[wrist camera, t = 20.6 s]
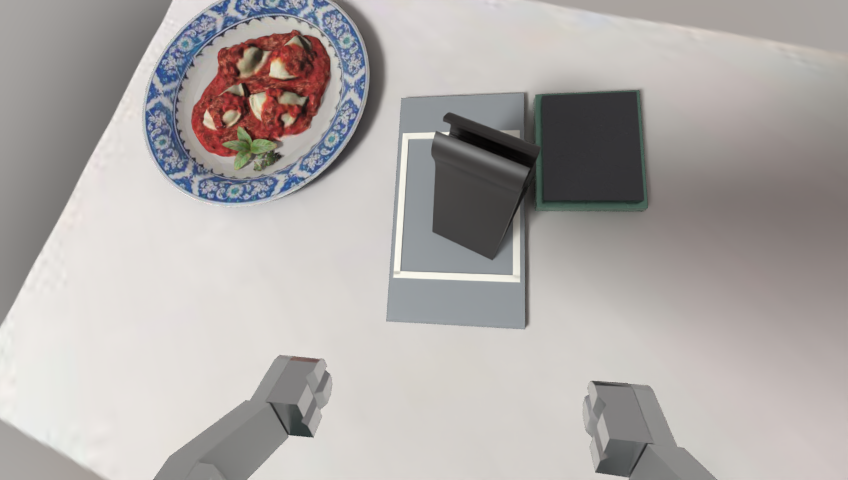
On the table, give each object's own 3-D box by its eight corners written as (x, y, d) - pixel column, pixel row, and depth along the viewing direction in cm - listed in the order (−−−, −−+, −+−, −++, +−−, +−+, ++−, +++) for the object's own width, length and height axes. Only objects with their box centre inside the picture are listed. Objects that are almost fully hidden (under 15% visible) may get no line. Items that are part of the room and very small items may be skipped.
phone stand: (475, 148, 33) (472, 61, 21) (536, 173, 32) (567, 93, 20) (432, 232, 32) (404, 188, 20) (492, 261, 31) (498, 232, 19)
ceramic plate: (200, -5, 43) (180, -28, 40) (399, 8, 38) (393, -17, 36) (128, 191, 39) (100, 182, 36) (340, 232, 34) (328, 225, 31)
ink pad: (634, 96, 32) (642, 86, 31) (642, 211, 30) (651, 206, 29) (533, 100, 34) (536, 90, 32) (534, 210, 32) (538, 205, 30)
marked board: (523, 96, 34) (524, 92, 33) (524, 328, 30) (525, 329, 29) (402, 101, 36) (401, 97, 35) (387, 321, 32) (386, 321, 31)
